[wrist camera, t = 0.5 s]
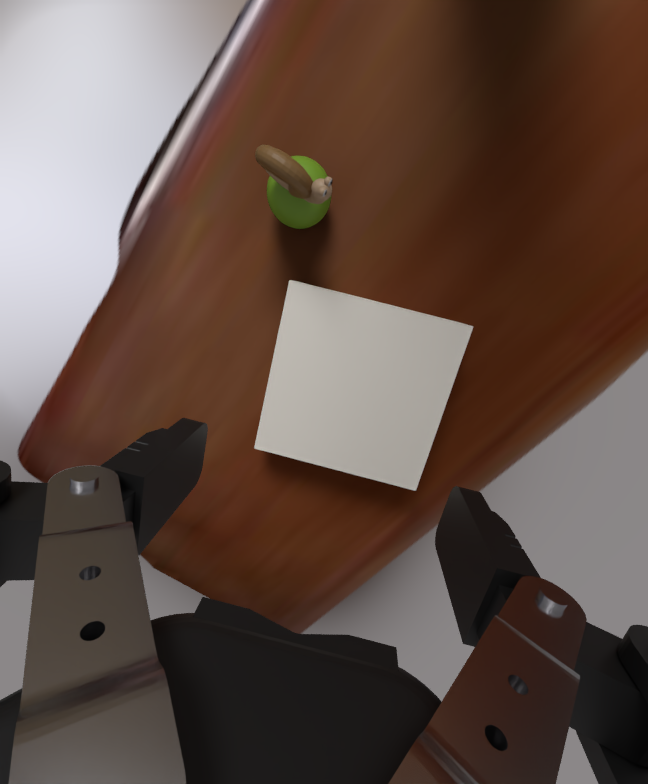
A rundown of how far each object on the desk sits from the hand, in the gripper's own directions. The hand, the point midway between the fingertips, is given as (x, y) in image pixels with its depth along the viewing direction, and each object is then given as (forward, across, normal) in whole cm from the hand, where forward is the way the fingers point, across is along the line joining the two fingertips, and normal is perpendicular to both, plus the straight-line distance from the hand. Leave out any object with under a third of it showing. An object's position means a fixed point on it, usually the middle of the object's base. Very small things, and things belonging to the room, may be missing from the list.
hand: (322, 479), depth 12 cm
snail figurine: (+27, +7, -12) cm, 30 cm away
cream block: (+27, -2, +3) cm, 27 cm away
